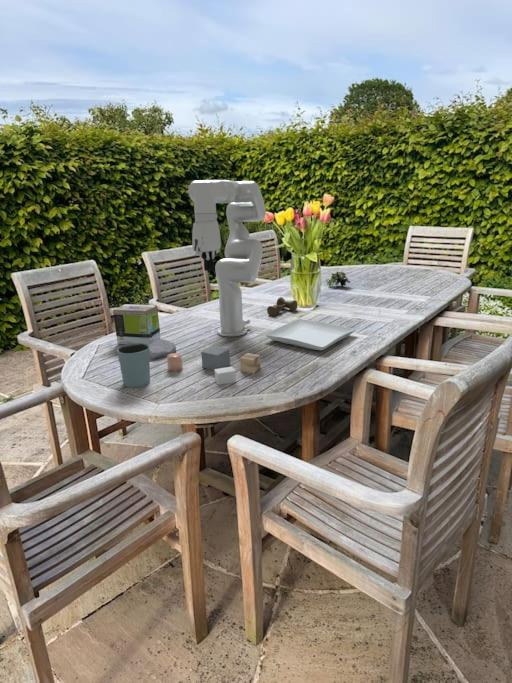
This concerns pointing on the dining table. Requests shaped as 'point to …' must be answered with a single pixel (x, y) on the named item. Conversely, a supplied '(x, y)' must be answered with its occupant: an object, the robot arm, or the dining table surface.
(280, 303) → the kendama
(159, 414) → the dining table surface
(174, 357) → the terracotta cylinder
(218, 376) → the pale grey block
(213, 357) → the slate block
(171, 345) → the stone block
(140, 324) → the tea box
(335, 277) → the miniature tree
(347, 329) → the square plate
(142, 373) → the blue-grey cup
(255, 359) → the oak cube
